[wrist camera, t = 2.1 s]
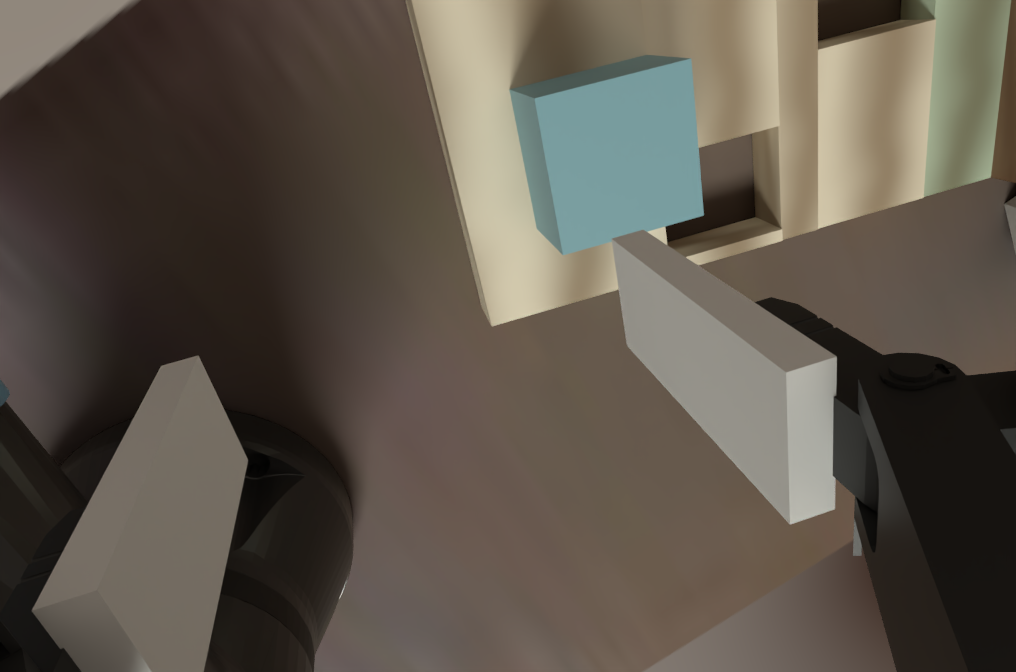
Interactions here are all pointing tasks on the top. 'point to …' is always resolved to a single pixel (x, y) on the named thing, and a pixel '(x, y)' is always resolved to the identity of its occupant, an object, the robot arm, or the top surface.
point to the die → (1012, 218)
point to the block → (610, 150)
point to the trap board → (721, 116)
